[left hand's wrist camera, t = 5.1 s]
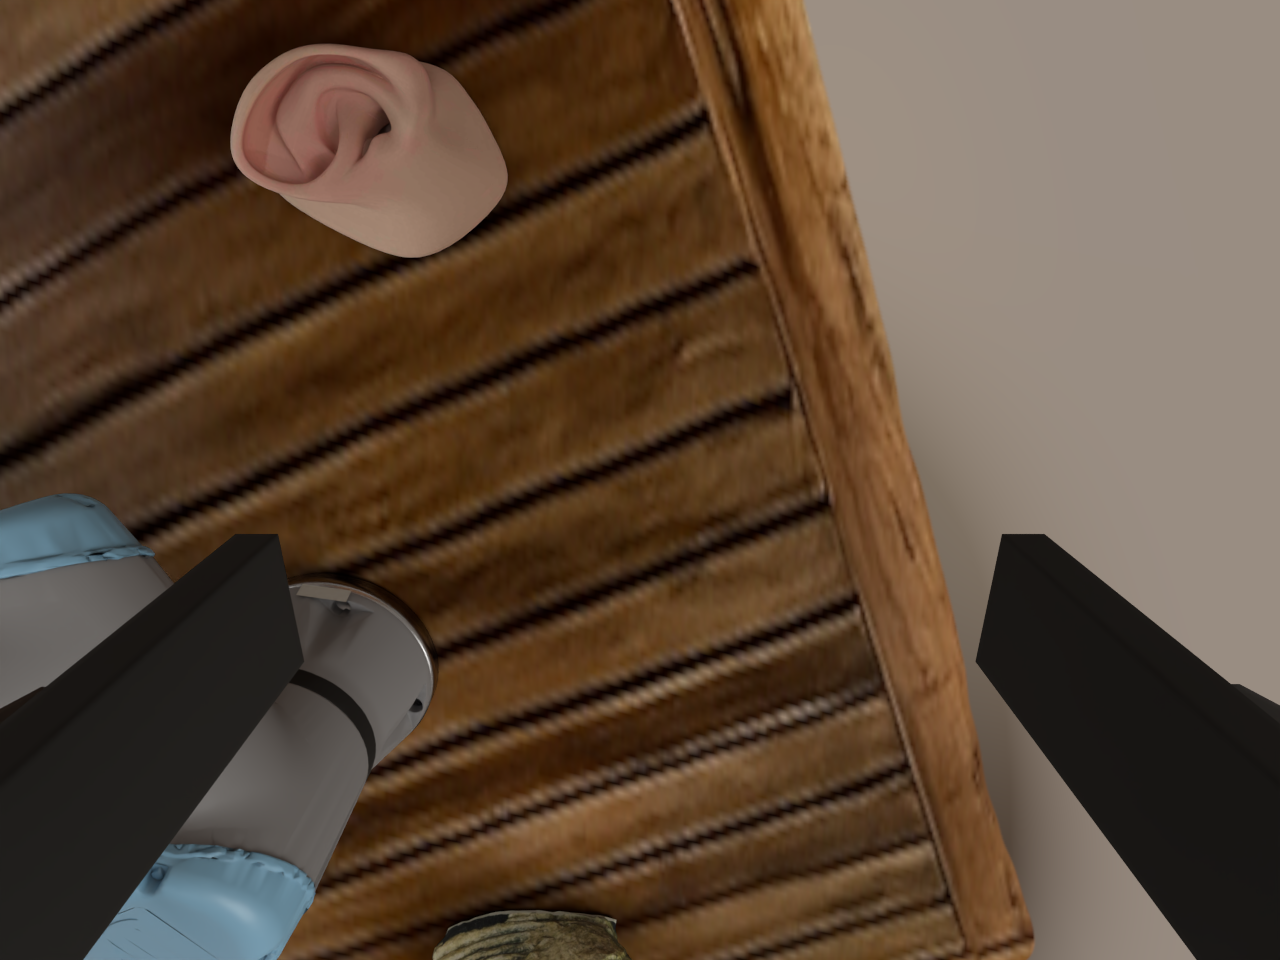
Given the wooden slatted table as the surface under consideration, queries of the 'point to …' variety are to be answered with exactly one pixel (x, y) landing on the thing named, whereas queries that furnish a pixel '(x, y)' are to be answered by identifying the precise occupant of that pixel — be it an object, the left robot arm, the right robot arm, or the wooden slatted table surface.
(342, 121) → the anatomical model
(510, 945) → the fossil
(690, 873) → the wooden slatted table surface
